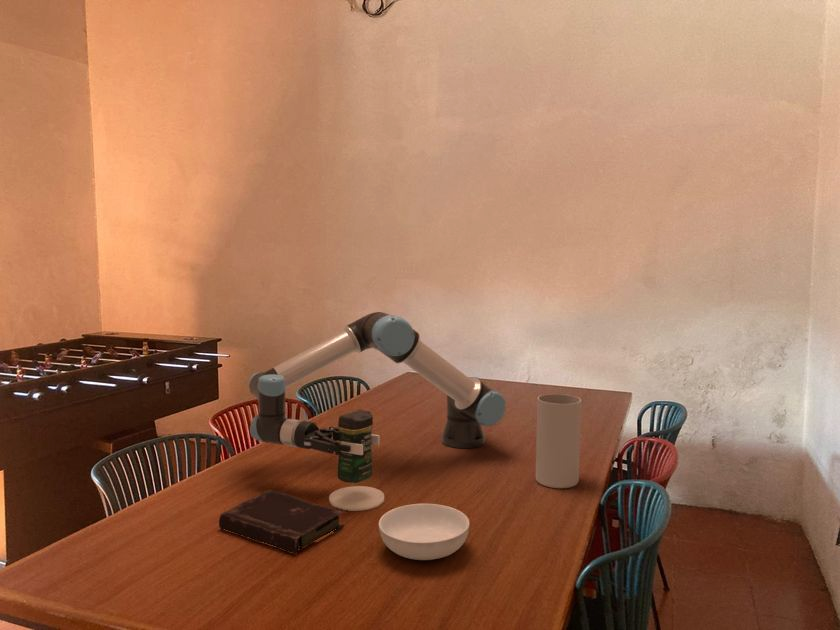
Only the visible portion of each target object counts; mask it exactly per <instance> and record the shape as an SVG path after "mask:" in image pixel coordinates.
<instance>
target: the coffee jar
mask: <svg viewBox="0 0 840 630" xmlns="http://www.w3.org/2000/svg"><path fill="white" fill-rule="evenodd" d="M373 418H374V417H373V414H372V412H370V411H368V410H363V409H358V410H355V411H352V412H349V413H345V414H341V415H340V416H339V417H338V423H337V428H338V430H339V435H340V441H339V443H340V442H341V441H344V442H350V443H357V444H363V455H357V454H351V453H345V452H340V451H339V455H338V460H337V461H338V463H337V473H336V474H337V479H338V480H339V481H341V482H343V483H346V484H349V483H352V484H358V483H361V482H363V481H366V480H368V479H370V478H371V477H372V476H373V473H374V472H373V470H374V469H373V456H372V454H373V453H372V445H371V434H373V433H372V432H373V427H374V423H373V422H374V420H373Z"/></svg>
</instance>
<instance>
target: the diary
mask: <svg viewBox="0 0 840 630" xmlns="http://www.w3.org/2000/svg"><path fill="white" fill-rule="evenodd" d="M344 513H345V512H344V511H343V510H340V509H336V508H332V507H328V506H324V505H320V504H317V503H313V502H309V501H306V500H304V499H301V498H299V497H296V496H293V495H290V494H288V493H283V492H280V491H276V490H273V489H270V490H267V491H265V492H263V493H260V494H258V495H256V496H254V497H252V498H250V499H247V500H245V501H243V502H241V503H238V505H236V506H234V507H232V508H229V510H227V511H224V512H222V513H221V514H220V516H219V520H218V527H219V528H221V529H225V530H228V531H231V532H234V533H237V534H239V535H238V536H240V535H243V536H245V537H249V538H251V539H254V540H257V541H260V542H264V543H267V544H270V545H273V546H276V547H278V548H281V549H284V550H286V551H289V552H292V553H294V554H297V553H298V550H297V549H300V550H301V548H299V546H300V547H304V546H306V545H308V544H309V543H311V542H313V541H315V540H317V539H318V538H320V537H322V536H324V535H326V534H328V533H330V532H331V531H333V530H334V531H333V532H336V531H337V532H339V531H340V530H342V529H343V528H344V526H345V524H340V522H339V521H340V515H342V514H344ZM221 529H220V530H221ZM335 529H336V530H335ZM338 530H339V531H338ZM337 532H336V533H337ZM245 537H244V538H245ZM251 539H250V540H251ZM308 546H309V545H308ZM278 548H277V549H278ZM286 551H285V552H286ZM294 554H293V555H294Z"/></svg>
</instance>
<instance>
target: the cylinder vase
mask: <svg viewBox="0 0 840 630" xmlns="http://www.w3.org/2000/svg"><path fill="white" fill-rule="evenodd" d="M536 407H537V408H536V409H537V410H536V439H535V440H536V443H535V445H536V447H535V449H536V450H535V480H536V482H537V483H539V484H540V485H542V486H544V487H548V488H552V489H570V488H573V487H576V486H577V485H578V483H579V482H580V481H579V479H580V478H579V477H580V451H581V449H580V448H581V447H580V446H581V422H582V421H581V419H582V398H580V397H578V396H576V395H575V396H574V395H572V394H571V395H570V394H566V393H565V394H564V393H563V394H562V393H548V394H541V395H538V397H537V406H536Z"/></svg>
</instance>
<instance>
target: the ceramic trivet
mask: <svg viewBox="0 0 840 630" xmlns="http://www.w3.org/2000/svg"><path fill="white" fill-rule="evenodd" d="M328 500H329V501H328V502H329V504H330V506H332V507H334V509H337V508H338V509H337V510H341V509H342V510H341V511H346V510H348V512H361V511H368V510H371V509H375V508H377V507H379V506H381V505H382V504H383V503H384V502H385V494H384V492H383V491H381V490H380V489H378V488H375V487H372V486H364V485H354V486H347V487H346V486H344V487H341V488H339V489H337V490H334V491H332V492H331V493H330V495H329V497H328Z"/></svg>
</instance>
